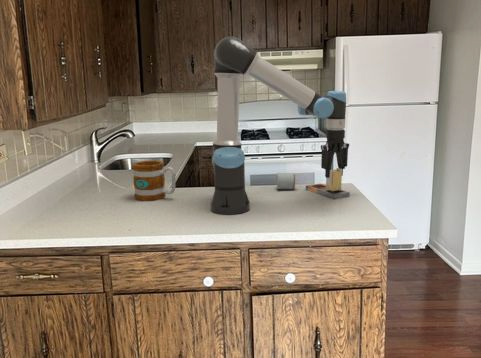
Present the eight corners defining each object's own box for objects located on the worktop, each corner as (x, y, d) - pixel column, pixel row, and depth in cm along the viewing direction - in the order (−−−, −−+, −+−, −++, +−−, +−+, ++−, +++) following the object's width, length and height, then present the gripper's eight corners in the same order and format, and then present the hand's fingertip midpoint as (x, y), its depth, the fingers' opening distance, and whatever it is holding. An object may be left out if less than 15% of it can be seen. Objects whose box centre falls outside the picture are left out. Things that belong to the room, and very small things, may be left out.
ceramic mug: (295, 191, 207) (295, 174, 205) (277, 191, 207) (277, 174, 206) (293, 186, 217) (293, 169, 216) (276, 186, 218) (276, 170, 216)
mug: (128, 200, 198) (125, 165, 195) (145, 192, 210) (143, 159, 207) (168, 203, 191) (166, 167, 187) (184, 195, 203) (182, 162, 200)
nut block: (332, 191, 194) (333, 172, 192) (325, 188, 198) (326, 170, 196) (341, 189, 196) (341, 171, 194) (334, 187, 200) (334, 169, 198)
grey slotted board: (334, 199, 192) (334, 194, 191) (305, 189, 209) (305, 185, 208) (349, 196, 195) (349, 191, 195) (320, 187, 212) (320, 183, 212)
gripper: (324, 131, 184) (322, 188, 189) (358, 128, 192) (355, 183, 197) (312, 129, 191) (311, 184, 196) (346, 127, 199) (343, 180, 204)
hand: (333, 184), depth 197 cm, fingers closed on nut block, 4 cm apart
